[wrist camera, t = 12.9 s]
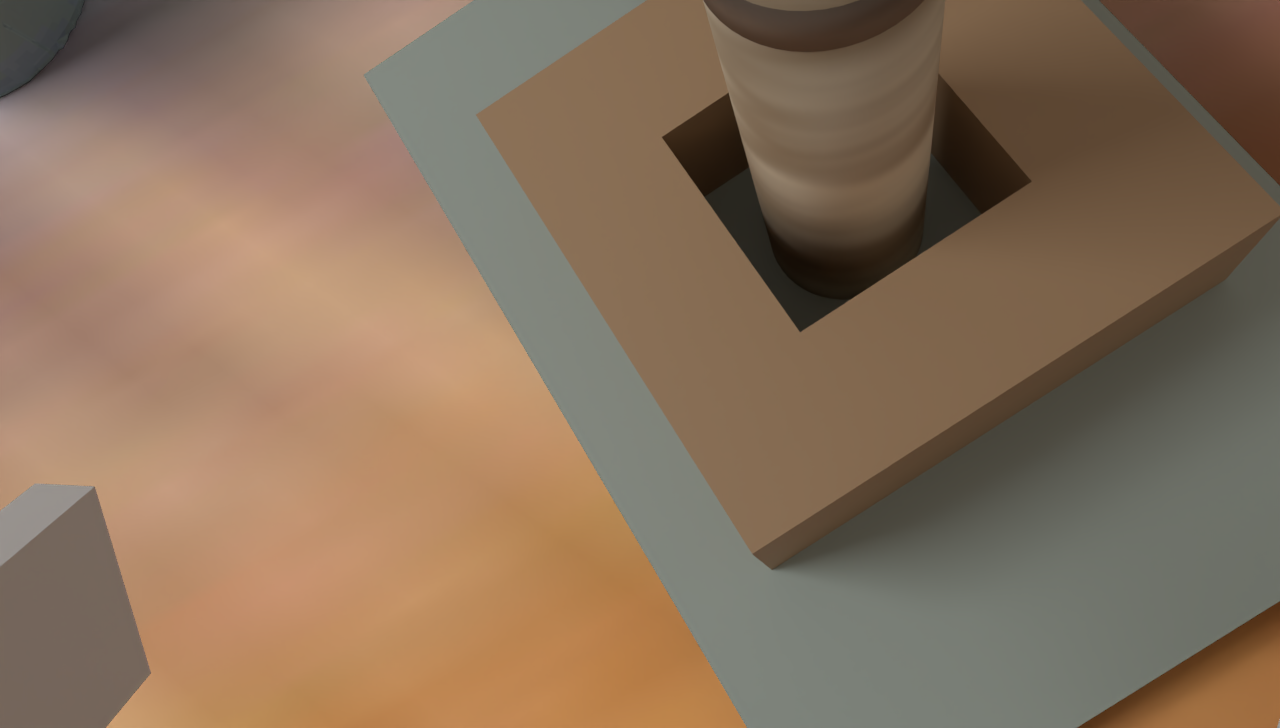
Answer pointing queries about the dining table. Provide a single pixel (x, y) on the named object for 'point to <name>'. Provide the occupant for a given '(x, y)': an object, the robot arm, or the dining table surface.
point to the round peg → (835, 128)
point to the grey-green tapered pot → (32, 37)
